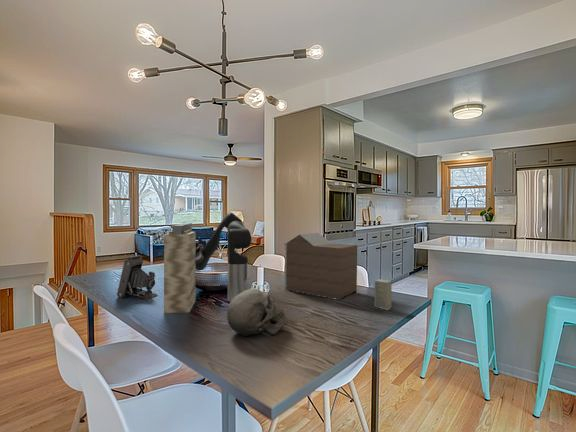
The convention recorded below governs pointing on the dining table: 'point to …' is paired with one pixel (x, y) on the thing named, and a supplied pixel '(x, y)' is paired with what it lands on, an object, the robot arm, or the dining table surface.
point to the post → (179, 271)
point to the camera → (135, 279)
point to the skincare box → (383, 293)
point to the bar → (181, 228)
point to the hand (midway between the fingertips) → (190, 239)
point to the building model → (320, 266)
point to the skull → (255, 313)
